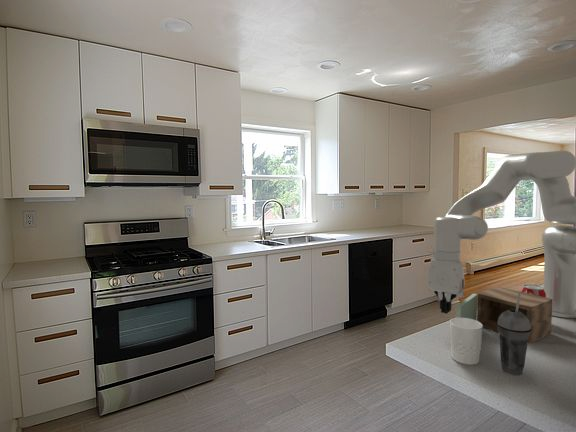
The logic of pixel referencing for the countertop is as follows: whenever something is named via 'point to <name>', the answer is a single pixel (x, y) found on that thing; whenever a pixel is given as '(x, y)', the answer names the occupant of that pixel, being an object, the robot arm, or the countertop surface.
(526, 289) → the soda can
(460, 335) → the white cup
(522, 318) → the beverage cup
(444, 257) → the robot arm
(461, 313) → the door
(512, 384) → the countertop surface
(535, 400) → the countertop surface
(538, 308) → the wooden storage crate
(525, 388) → the countertop surface
